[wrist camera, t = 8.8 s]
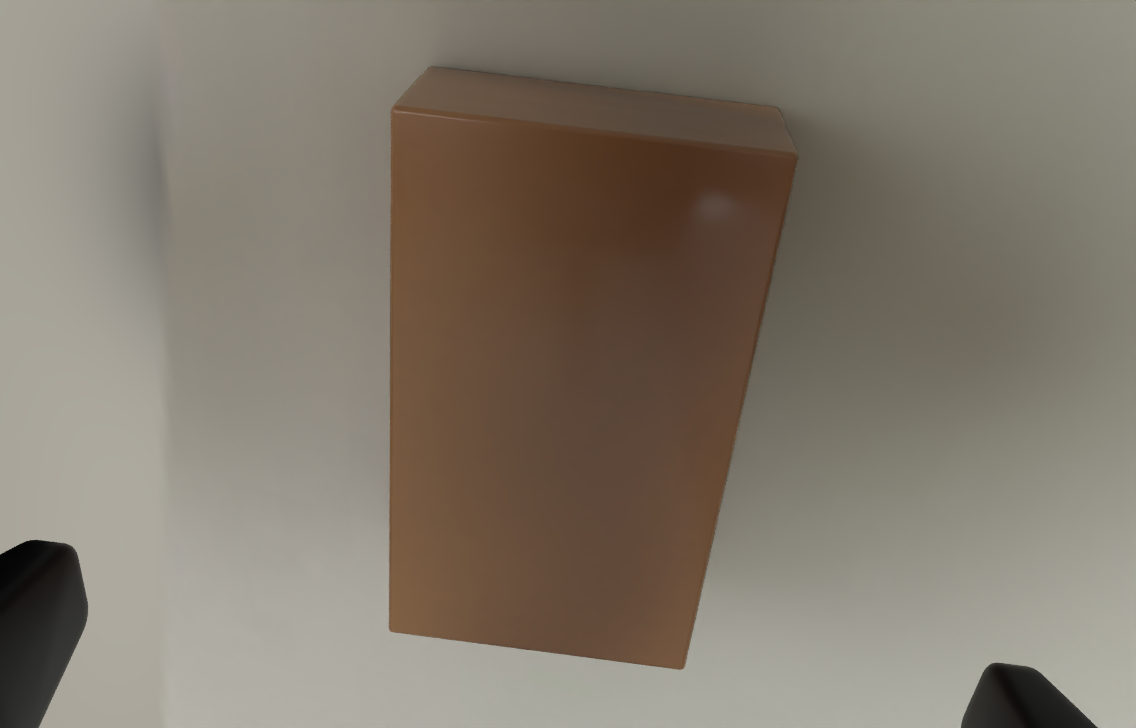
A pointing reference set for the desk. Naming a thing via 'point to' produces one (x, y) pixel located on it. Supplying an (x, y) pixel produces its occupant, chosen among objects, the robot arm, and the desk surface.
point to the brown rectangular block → (570, 354)
